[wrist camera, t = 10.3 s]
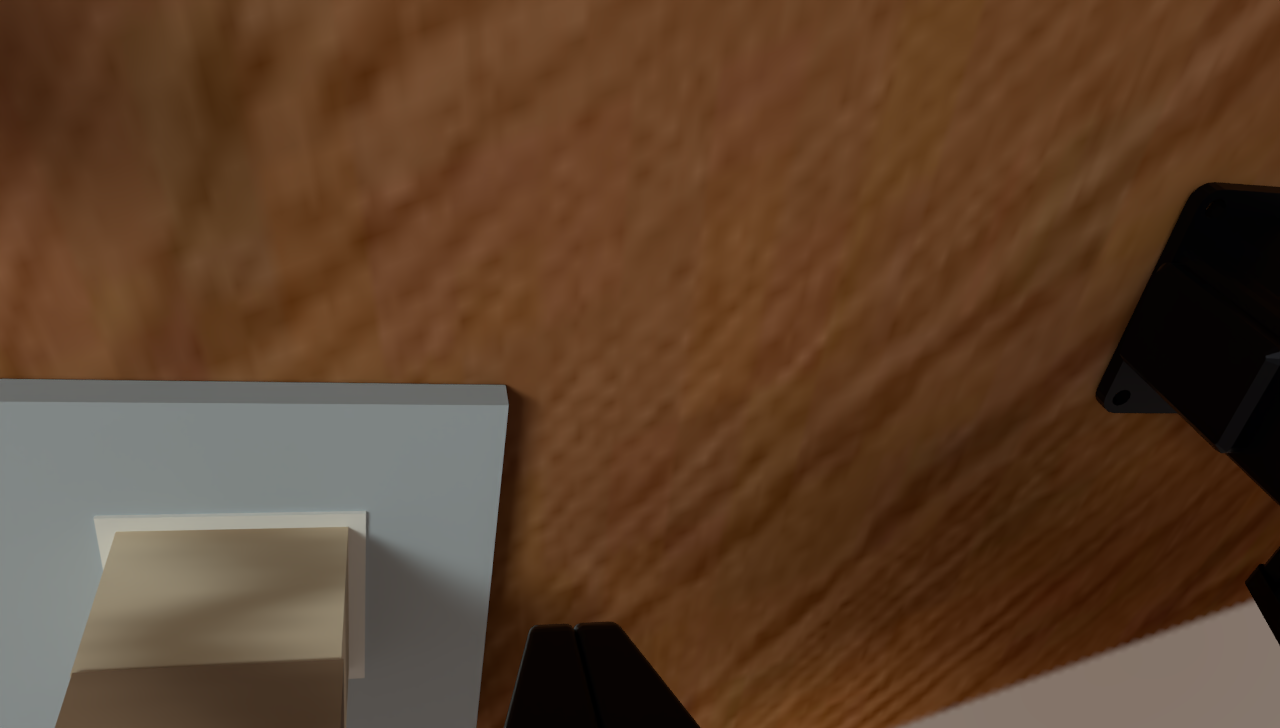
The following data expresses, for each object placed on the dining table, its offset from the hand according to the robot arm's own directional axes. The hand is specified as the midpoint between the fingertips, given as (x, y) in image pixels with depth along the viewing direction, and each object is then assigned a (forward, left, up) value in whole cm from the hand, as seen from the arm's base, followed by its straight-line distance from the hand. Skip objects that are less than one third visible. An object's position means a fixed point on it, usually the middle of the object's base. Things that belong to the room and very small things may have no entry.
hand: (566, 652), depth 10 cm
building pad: (+5, +12, -13) cm, 18 cm away
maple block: (+5, +12, -12) cm, 18 cm away
